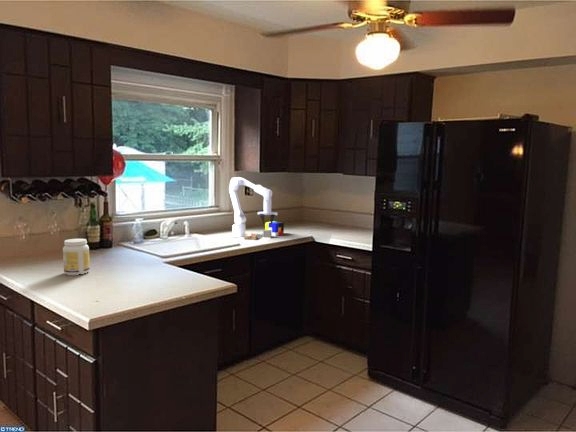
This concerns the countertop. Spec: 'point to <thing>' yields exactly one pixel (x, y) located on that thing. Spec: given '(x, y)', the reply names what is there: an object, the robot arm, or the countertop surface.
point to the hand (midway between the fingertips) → (267, 224)
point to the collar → (251, 237)
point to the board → (264, 238)
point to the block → (267, 234)
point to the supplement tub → (76, 257)
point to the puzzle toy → (275, 228)
